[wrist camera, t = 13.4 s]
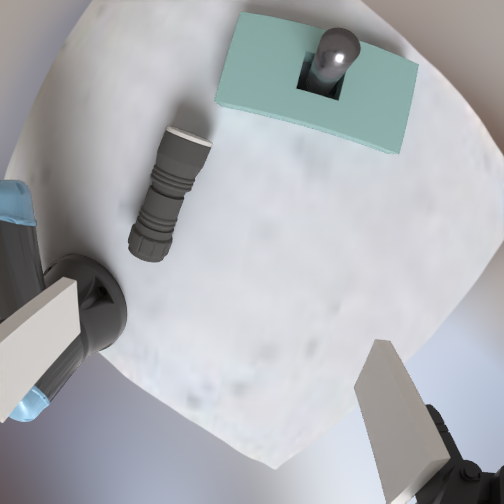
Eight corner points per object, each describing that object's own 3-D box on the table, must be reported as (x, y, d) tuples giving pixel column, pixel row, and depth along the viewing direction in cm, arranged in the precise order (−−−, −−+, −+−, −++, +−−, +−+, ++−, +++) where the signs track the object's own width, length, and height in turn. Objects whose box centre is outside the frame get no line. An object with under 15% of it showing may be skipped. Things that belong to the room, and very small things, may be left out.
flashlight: (171, 257, 40) (156, 272, 35) (135, 239, 40) (116, 252, 35) (217, 143, 35) (206, 142, 30) (176, 127, 35) (160, 124, 30)
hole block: (221, 106, 34) (214, 100, 30) (244, 24, 30) (240, 11, 26) (387, 153, 33) (399, 153, 30) (405, 71, 30) (418, 64, 26)
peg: (303, 91, 32) (316, 55, 19) (309, 68, 31) (324, 23, 18) (328, 98, 32) (356, 68, 19) (334, 76, 31) (363, 35, 18)
